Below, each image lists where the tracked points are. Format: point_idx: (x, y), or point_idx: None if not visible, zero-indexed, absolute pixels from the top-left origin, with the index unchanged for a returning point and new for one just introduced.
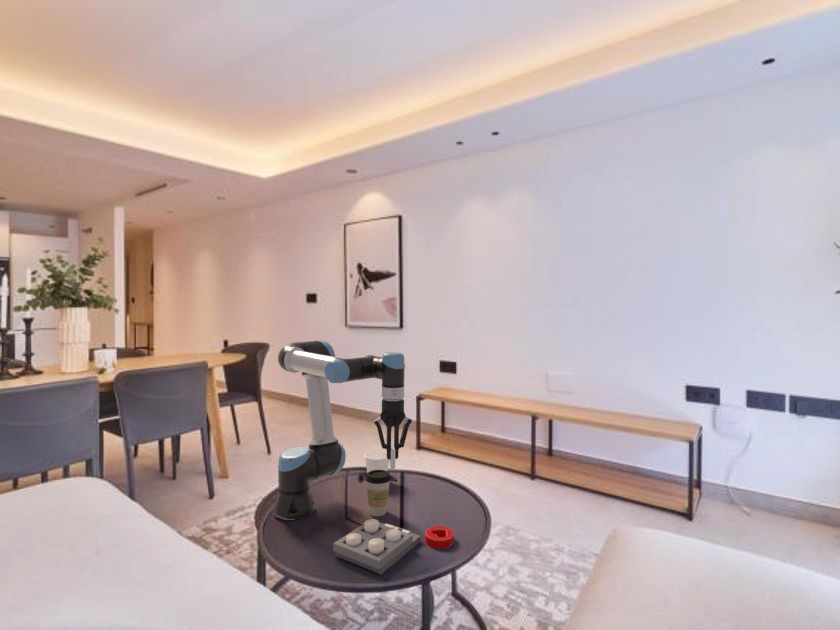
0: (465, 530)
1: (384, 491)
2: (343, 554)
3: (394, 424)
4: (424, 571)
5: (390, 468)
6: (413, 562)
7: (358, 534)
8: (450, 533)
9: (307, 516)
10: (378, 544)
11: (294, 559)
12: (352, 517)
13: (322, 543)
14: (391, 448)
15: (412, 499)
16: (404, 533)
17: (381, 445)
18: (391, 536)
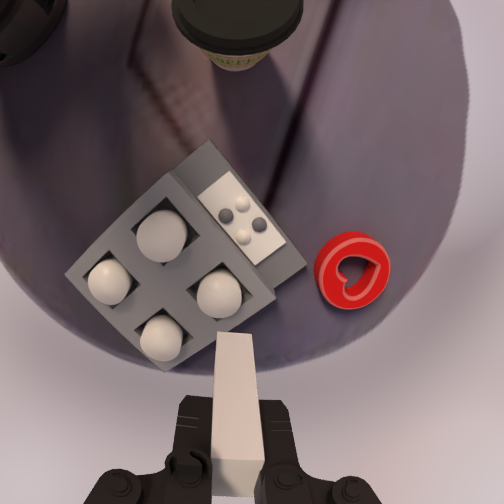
0: (425, 240)
1: (254, 57)
2: None
3: None
4: (264, 362)
5: (214, 368)
6: (253, 332)
7: (118, 277)
8: (378, 288)
9: (40, 45)
10: (164, 355)
11: (13, 243)
12: (149, 59)
13: (56, 191)
14: (228, 468)
15: (368, 13)
16: (256, 285)
17: (103, 489)
18: (208, 314)
